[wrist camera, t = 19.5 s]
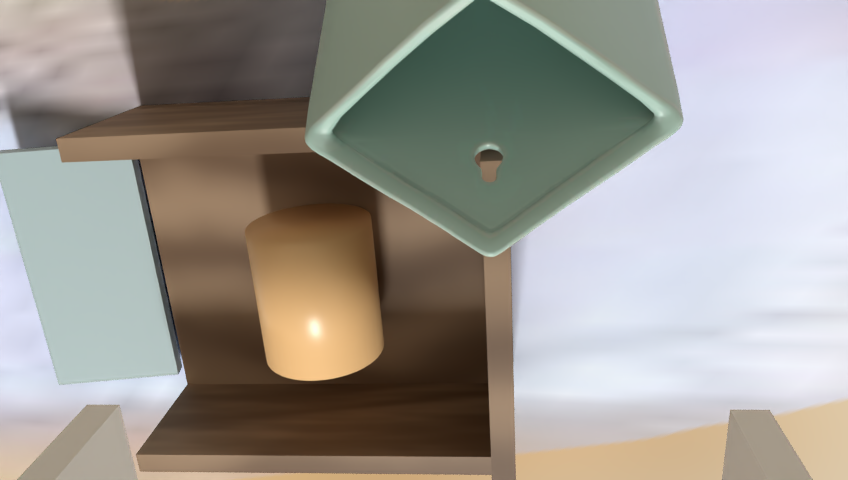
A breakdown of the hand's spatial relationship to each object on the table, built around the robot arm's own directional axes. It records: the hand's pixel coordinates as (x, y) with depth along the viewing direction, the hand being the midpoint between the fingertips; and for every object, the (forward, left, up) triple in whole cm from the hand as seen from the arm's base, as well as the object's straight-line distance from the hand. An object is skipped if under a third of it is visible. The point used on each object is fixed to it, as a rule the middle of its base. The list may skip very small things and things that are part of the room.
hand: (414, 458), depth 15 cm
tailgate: (+7, -20, -28) cm, 35 cm away
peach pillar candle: (+7, -9, -27) cm, 29 cm away
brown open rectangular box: (+7, -9, -29) cm, 31 cm away
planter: (-14, +1, -27) cm, 30 cm away
